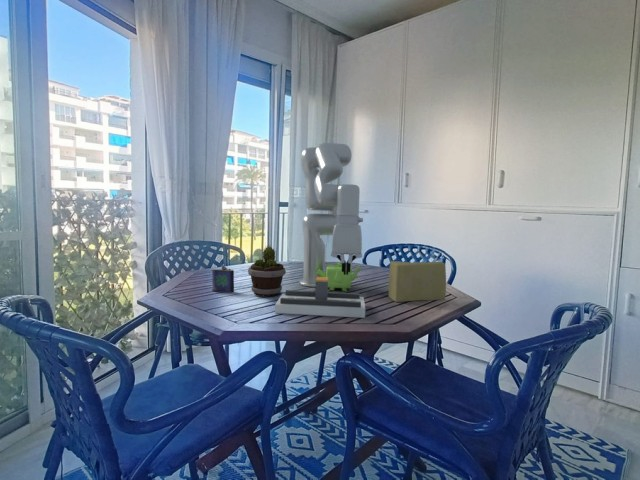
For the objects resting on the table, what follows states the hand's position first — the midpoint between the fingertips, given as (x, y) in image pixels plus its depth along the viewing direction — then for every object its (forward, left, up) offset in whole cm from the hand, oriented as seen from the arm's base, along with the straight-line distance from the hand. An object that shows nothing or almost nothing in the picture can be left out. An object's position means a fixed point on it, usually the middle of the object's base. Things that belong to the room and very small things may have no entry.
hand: (345, 274), depth 133 cm
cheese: (-21, +29, -13) cm, 38 cm away
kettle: (-31, -3, -13) cm, 34 cm away
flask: (-19, -49, -13) cm, 54 cm away
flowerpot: (-18, -31, -13) cm, 38 cm away
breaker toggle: (-1, -8, -10) cm, 13 cm away
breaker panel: (-1, -8, -13) cm, 15 cm away
